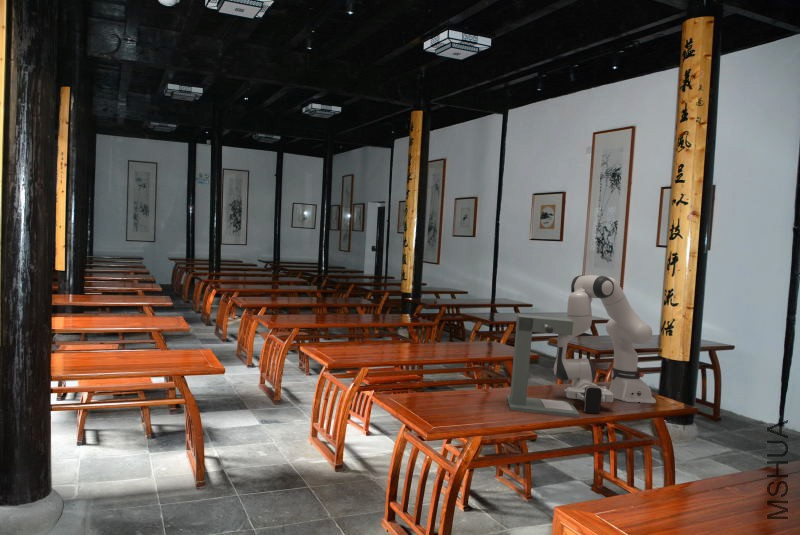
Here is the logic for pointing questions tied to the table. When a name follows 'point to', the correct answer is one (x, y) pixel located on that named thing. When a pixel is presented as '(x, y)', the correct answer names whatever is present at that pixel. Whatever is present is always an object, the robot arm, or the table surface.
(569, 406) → the press
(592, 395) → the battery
